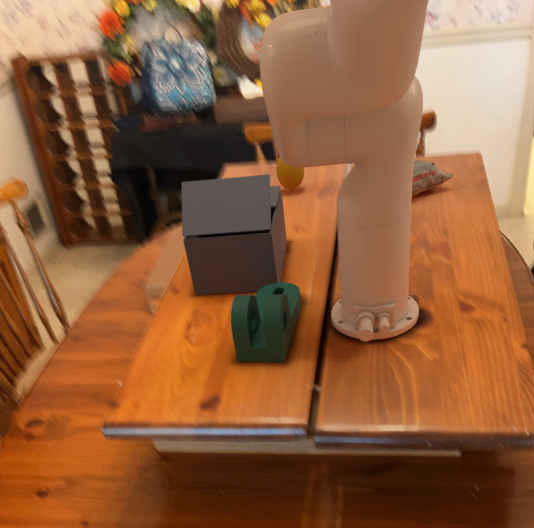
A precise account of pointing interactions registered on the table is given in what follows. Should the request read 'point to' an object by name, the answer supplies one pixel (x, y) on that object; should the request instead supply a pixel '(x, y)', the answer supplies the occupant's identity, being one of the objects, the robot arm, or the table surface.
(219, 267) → the carton
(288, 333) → the bracket
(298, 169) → the lemon
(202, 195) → the carton flap
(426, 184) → the packaged food
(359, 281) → the robot arm
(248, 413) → the table surface
